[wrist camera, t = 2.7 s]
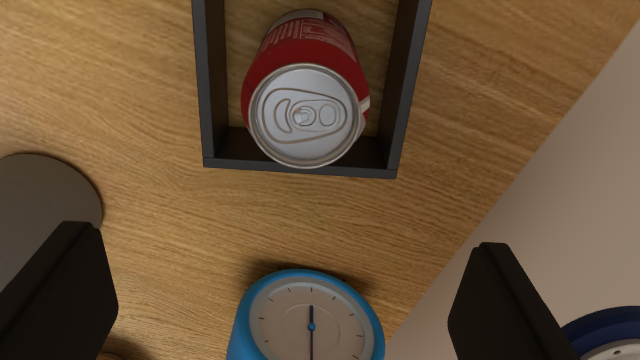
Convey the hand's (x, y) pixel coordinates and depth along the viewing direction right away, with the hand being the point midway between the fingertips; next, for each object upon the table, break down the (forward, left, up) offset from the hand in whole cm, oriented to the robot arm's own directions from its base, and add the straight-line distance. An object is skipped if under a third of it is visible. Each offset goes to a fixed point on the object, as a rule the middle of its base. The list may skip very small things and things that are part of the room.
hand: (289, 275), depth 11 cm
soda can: (0, 0, -23) cm, 23 cm away
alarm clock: (-2, +24, -23) cm, 33 cm away
